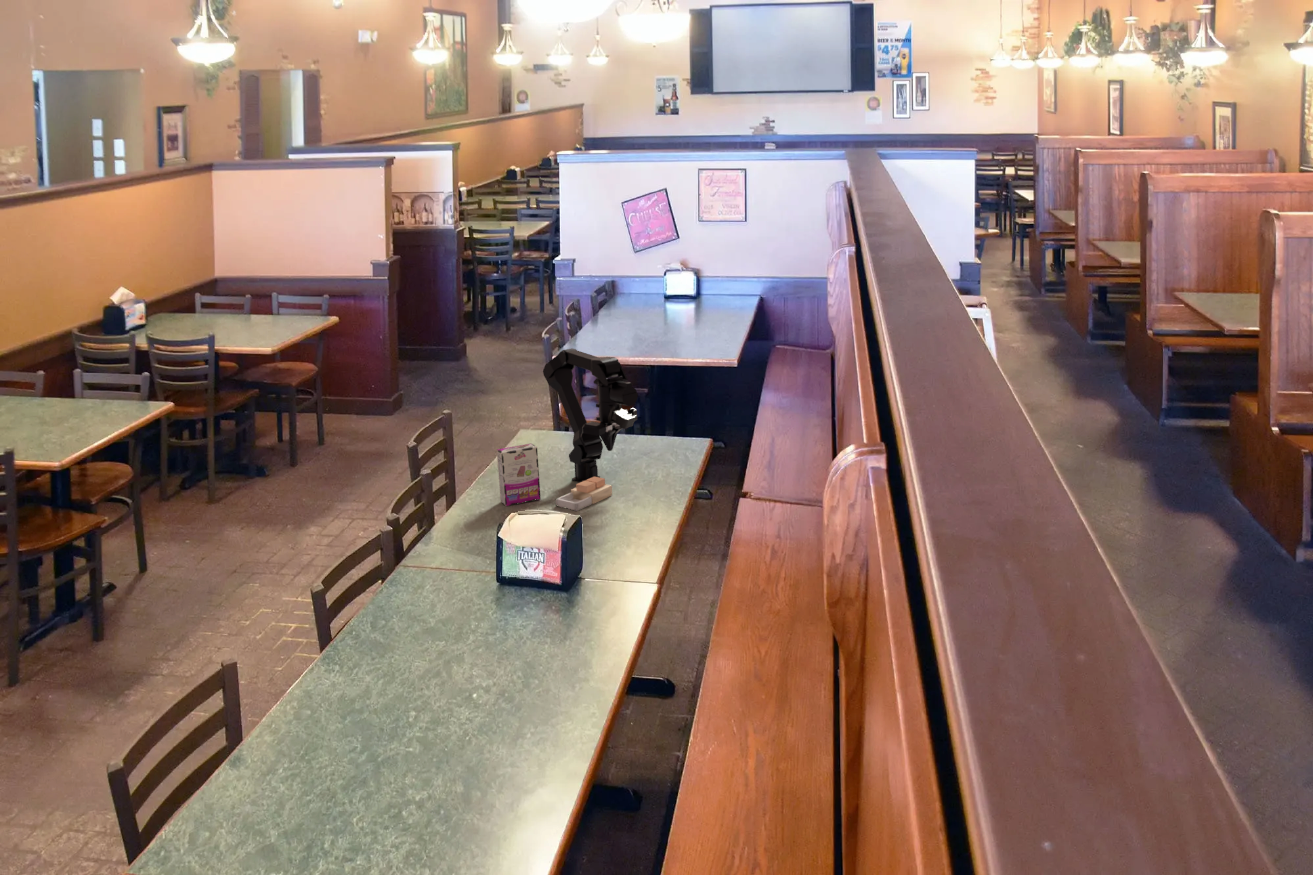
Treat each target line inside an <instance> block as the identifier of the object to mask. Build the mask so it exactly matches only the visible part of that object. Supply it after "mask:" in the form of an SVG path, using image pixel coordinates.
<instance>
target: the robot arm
mask: <svg viewBox="0 0 1313 875" xmlns="http://www.w3.org/2000/svg"><path fill="white" fill-rule="evenodd" d="M577 367H578V368H581V369H583V370H587V371H589V372H590V373H591V375H592V376H593V377H594V378H596V379H594V381H593V384H595V385H597V390H598V403H597V402H596V403H595V408H598V416H596V418H595V419H596V421H589V422H588V421H587V418H586V417H585V415H584V412H583V410H582V407H581V404H580V402H579V399H578V397H577V394H576V392H575V389H574V388H573V380H574V374H573V370H574V369H575V368H577ZM542 374H543V376H544V378H545V380H546V383H547V384H548V386H550V387H551V388H552V389H553V390H554V391H556V392H557V395H558V397H559V399H560V403H561V405H562V407H563V409H564V412H565V414H566V417H567V419H568V421H569V424H570V427H571V429H572V431H573V437H572V446H573V449H572V450H571V452H569V453H568V458H569V462H571V463H574V477H572V478H571V480H572V481H575V482H578V483H580V482H583V481H586V480H587V479H590V478H592V477H599V478H601V476H600V475H599V474H598V473H599V472H598V471H599V470H598V465H597V461H598V460H600V459H602V458H601V457H602V453H603V449H604V446H605V448H606V450H607V451H608V452H611V451H613V449H614V446H615V442H616V438H617V435H618V433H620V431H621V430H624V429H625V430H626V429H628V428H630V427H633V426H634V423H635V422H636V421H637V420H638V410H637V409H636V408H634V407H632V406H633V405H635V403H636V402H637V400H638V398H639V397H638V395H639V393H638V391H637V389H636V388H635V386H633V383H632V382H630V381H628V378H627V374H626V372H625V371H624V368H623V367H622V364H621V362H620V361H619V359H618V358H617V357H615V356H595V355H592V354H589V353H586V352H584V351H580V350H578V349H576V348H573V347H572V348H567V349H562V350H561V351H559V353H558V354H557V355H556V356H555V357H553V358H552V359H551V360H549V361H548V362H547V363H546V364H545V365H544V368H543V369H542ZM623 406H627V407H632V408H630V409H623ZM603 444H604V445H603Z"/></svg>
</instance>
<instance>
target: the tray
mask: <svg viewBox="0 0 1313 875" xmlns="http://www.w3.org/2000/svg"><path fill="white" fill-rule="evenodd" d="M556 505H558V506H560V507H559V508H562V507H566V508H568V509H567V510H570V509H571V510H572V511H576V512H577V511H580V510H582V509H585V508H587V507H588V506H591V505H593V504H592V497H590V496H589V497H587V498H585V499H583V500H578V499H573V493H572V492H571V491H570V492H568V493H566V494H563V495H561V496H560V497H559V496H558V497H557V498H555V506H556ZM566 508H565V509H566ZM571 510H570V511H571Z"/></svg>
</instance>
